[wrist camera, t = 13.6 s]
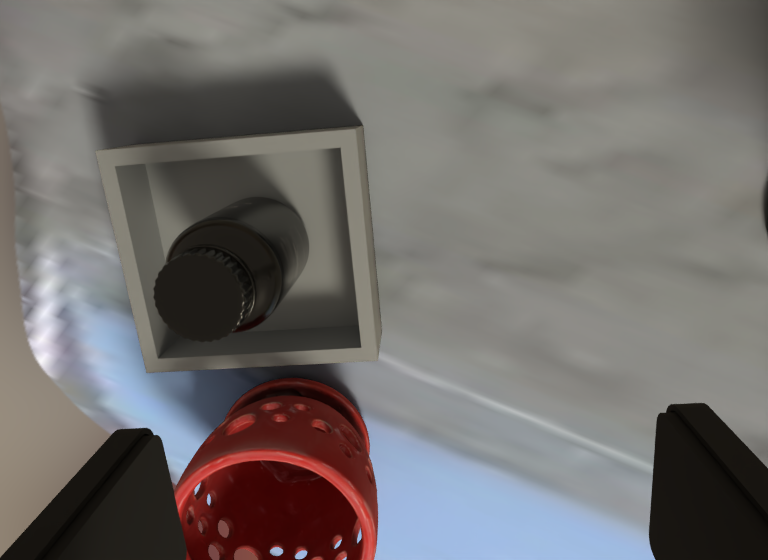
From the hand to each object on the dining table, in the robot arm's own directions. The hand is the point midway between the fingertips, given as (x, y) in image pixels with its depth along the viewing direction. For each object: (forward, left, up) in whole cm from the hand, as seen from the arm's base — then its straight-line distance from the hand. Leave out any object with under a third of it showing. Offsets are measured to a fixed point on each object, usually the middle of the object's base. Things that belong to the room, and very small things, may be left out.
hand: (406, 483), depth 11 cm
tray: (+11, +2, -30) cm, 32 cm away
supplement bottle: (+11, +2, -30) cm, 31 cm away
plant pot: (+10, +18, -31) cm, 37 cm away
